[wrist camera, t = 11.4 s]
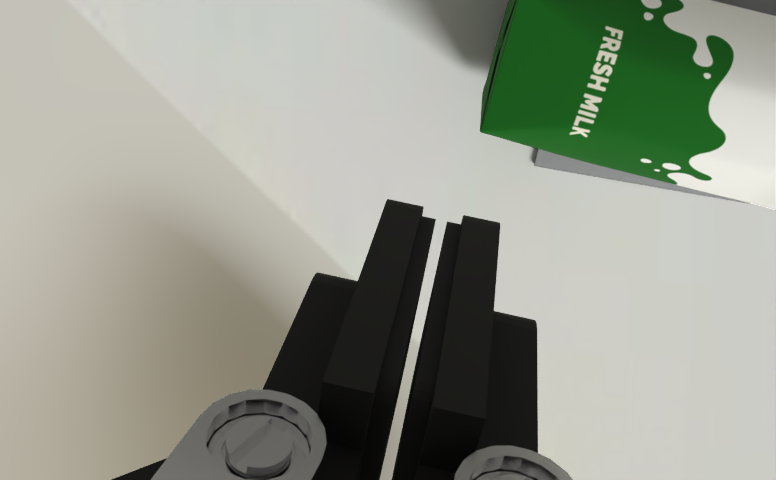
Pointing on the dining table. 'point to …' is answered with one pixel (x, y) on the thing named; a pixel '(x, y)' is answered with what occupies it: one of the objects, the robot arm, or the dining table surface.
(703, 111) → the white and green box
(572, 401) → the dining table surface
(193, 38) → the dining table surface
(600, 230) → the dining table surface
